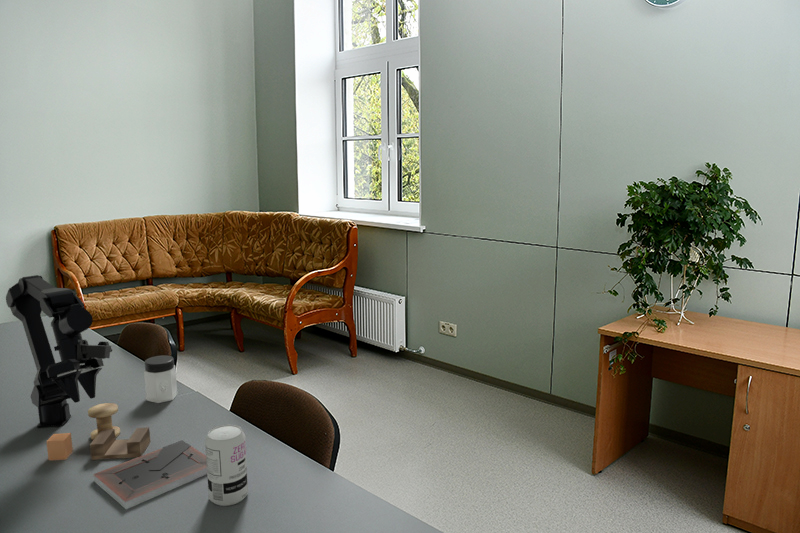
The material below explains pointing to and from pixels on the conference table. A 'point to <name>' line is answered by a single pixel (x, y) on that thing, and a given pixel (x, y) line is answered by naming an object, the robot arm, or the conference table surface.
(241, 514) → the conference table surface
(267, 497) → the conference table surface
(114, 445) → the notch board
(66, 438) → the light brown wooden block
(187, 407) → the conference table surface
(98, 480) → the picture frame
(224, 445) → the supplement can
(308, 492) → the conference table surface
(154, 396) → the jar
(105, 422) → the spool
